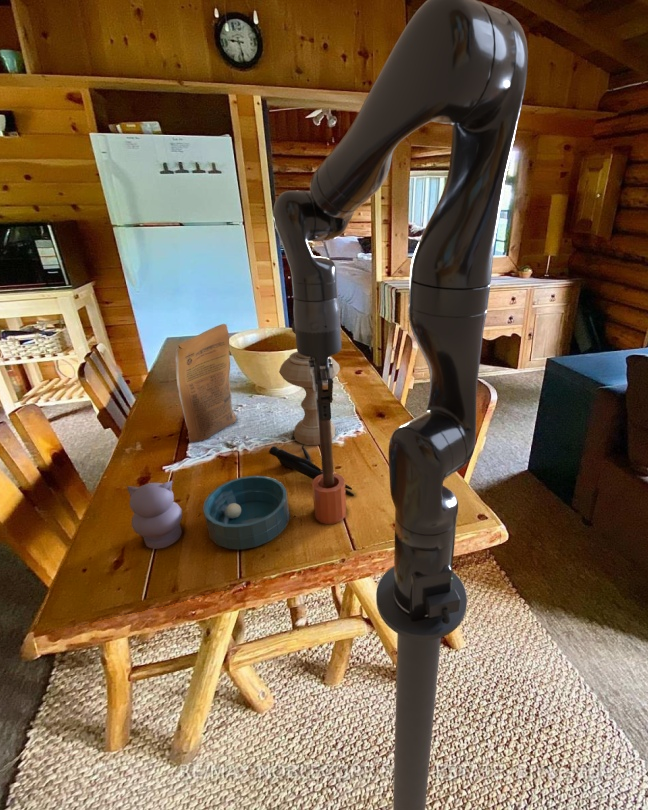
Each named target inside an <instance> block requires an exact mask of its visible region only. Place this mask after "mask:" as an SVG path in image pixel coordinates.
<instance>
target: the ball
mask: <svg viewBox="0 0 648 810" xmlns="http://www.w3.org/2000/svg"><path fill="white" fill-rule="evenodd" d="M225 513H226V515H227V517H229V518H232V519H234V518H237V517H238V516H239V515H240V514H241V507H240V506H239V505H238V504H236V503H232V504H229V505H228V506H227V508H226V510H225Z"/></svg>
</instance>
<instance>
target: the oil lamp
mask: <svg viewBox="0 0 648 810" xmlns="http://www.w3.org/2000/svg"><path fill="white" fill-rule="evenodd" d="M291 331H292V333H293V334H295V324H294V321H293V322H292V325H291ZM329 358H331V363H333V371H334V372H333V374H332V378H333V379H335V377H336V376H337V375H338V374H339V373H340V369H341V368H340V364H339V363H338V362H337V361H336V360H335V359H334V358H333V357H332V356H330V357H329ZM308 360H310V357H306V356H303V355H301V354H299V353H298V351H297V350H296V351H294V352H292V353H291V354H290V355H289V357H288V358H287V359H285V360H284V361H283V363H282V364H281V365H280V368H279V371H278V373H279V375H280V376H281V378H282V379H283V380H284V381H285V382H287V383H288V384H291V385H293V386H296V387H300V388H302V389H304V392H305V396H304V398H303V400H302V401H301V403H300V406H301V408H302V410H303V412H304V415H303V418H302V419H301V420H299V421H298V422H297V423H296V424H295V426H294V431H293V437H294V439H295V441H296V442H298V443H299V444H302V445H303V444H304V446H305V445H306V446H318V445H320V434H319V421H318V412H317V403H316V394H315V392H314V390H313V384H312V381H311V374H310V369H309V365H308ZM331 436H332V440H333V439H335V436H336V426H335V424H334V423H333V421H332V420H331Z"/></svg>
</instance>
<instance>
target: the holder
mask: <svg viewBox="0 0 648 810" xmlns="http://www.w3.org/2000/svg"><path fill="white" fill-rule="evenodd" d="M345 484H346V479H345V478H344V476H343V475H341V474H339V473H337V472H334V484H333V485H332V486H325V485H324V484H323V474H321V475H318V476H317V477H316V478H315V479H312V483H311V489H312V501H313V511H314V517H315V520H316V521H318V522H319V523H321V524H325V525H334V524H337V523H339V522H341V521H342V520H344V519H345V517H346V516H347V494H346V491H345V489H346V488H345Z"/></svg>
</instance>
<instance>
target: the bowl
mask: <svg viewBox="0 0 648 810" xmlns="http://www.w3.org/2000/svg"><path fill="white" fill-rule="evenodd" d="M232 503H236V504H238V505H239V506H240V507H241V514H240V515H239V516H238V517H237V518H234V519H232V518H229V517H227V515H226V513H225V510H226V508H227V506H228V505H229V504H232ZM202 511H203V512H202V513H203V516H204V520H205V526H206V528H207V533H208V535H209V538H210V540H211V541H212V542H213V543H215V544H216V545H217V546H218V547H221V548H224V549H228V550H247V549H252V548H258V547H259V546H262V545H264V544H267V543H269V542H271V541H273V540H274V539H275V538H277V537H278V536H279V535H280V534H281V533H283V531H284V530H285V529H286V528H287V525H288V523H289V521H290V509H289V501H288V493H287V489H286V487H285V486H284V484H283V483H282V482H281V481H279V480H278V479H276V478H272V477H269V476H265V475H249V476H241V477H238V478H235V479H231V480H228V481H227V482H224V483H223V484H220V485H219V486H217V487H215V489H213V490H212V491H211V492H210V493H209V495H208V496H207V497H206V499H205V500H204V502H203V508H202Z"/></svg>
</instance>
